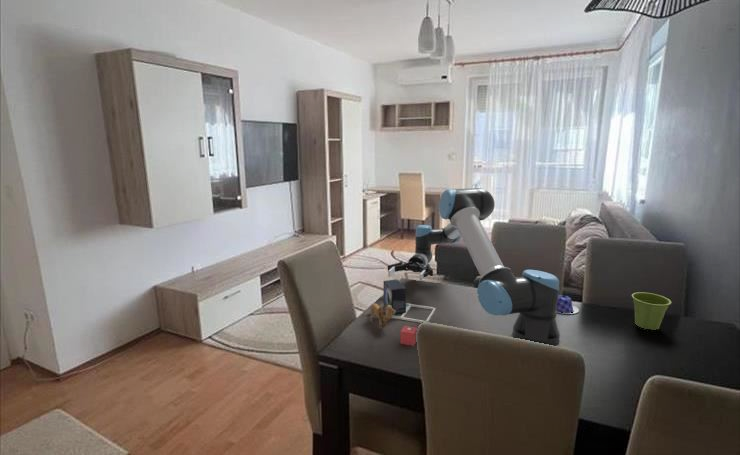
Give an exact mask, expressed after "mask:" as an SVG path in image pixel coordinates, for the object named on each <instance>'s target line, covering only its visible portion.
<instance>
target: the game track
mask: <svg viewBox="0 0 740 455" xmlns="http://www.w3.org/2000/svg"><path fill="white" fill-rule="evenodd" d="M383 306H385V305H384V304H383V305H382V306H381V307H383ZM412 307H413V308H418V309H419V308H420V309H426V310H431V312H430V314H429V315H428V317H427V318H426V320H422V319H415V318H409V317H406V316H405V315H406V314H407V313H408V311H410V309H411V308H412ZM435 312H436V307H435V306H434V307H433V306H427V305H421V304H413V303H407V302H406V313H399V314H394V315H392V317H391V318H390V319H395V320H402V321H408V322H412V323H413V322H415V323H420V324H423V323H422V322H428V323H429V322H430V320H431V318H432V317H433V315H434V313H435Z"/></svg>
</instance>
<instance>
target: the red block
mask: <svg viewBox="0 0 740 455" xmlns="http://www.w3.org/2000/svg"><path fill="white" fill-rule="evenodd" d="M416 332H417V333H418V327H414V326H408V325H404V326H402V328H401V330H400V344H401V345H406V346H410V345H411V346H412V347H413V346H414V345H416V343H417V341H416Z"/></svg>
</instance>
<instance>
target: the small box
mask: <svg viewBox="0 0 740 455" xmlns="http://www.w3.org/2000/svg"><path fill="white" fill-rule="evenodd" d="M382 282H383V305H385V306H386V305H391V306H392V308H393V309H394V310H396V312H395V314H399V313H406V303H407V287H406V286H405V285H404V284H403V283H402V282H400V280H399V279H398V278H397V279H388V280H383V281H382ZM406 314H407V313H406Z"/></svg>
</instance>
